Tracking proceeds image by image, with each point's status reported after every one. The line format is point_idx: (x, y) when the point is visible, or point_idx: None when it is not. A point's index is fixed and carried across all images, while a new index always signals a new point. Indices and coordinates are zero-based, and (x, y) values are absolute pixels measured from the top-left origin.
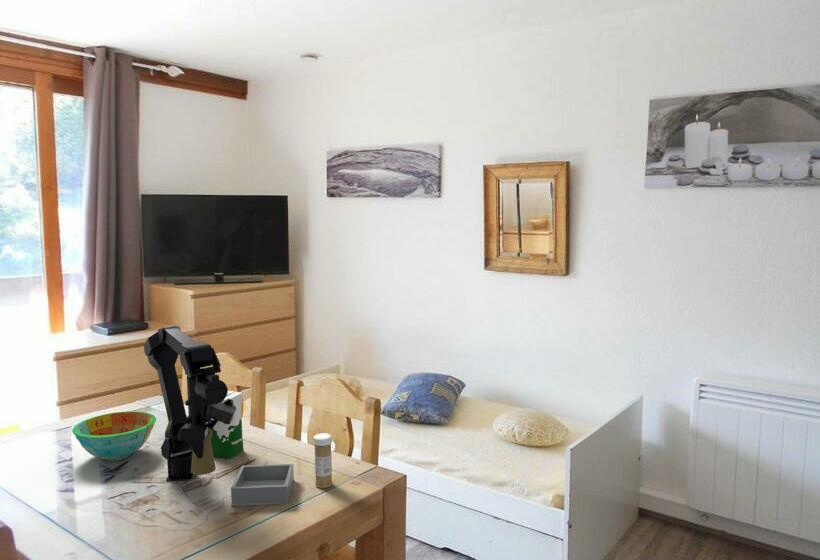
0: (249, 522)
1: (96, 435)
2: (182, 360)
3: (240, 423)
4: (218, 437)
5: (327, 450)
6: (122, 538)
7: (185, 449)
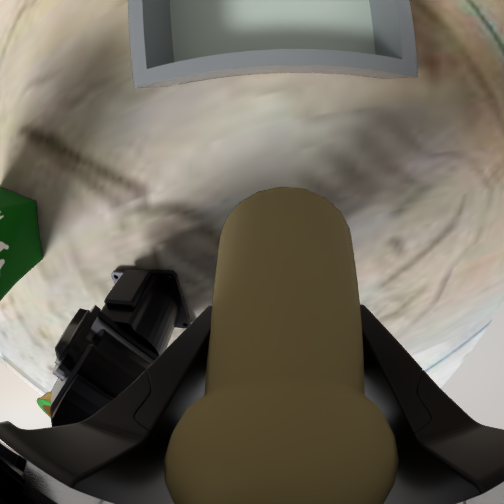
0: (478, 33)
1: None
2: None
3: None
4: (3, 267)
5: None
6: (464, 316)
7: (143, 362)
